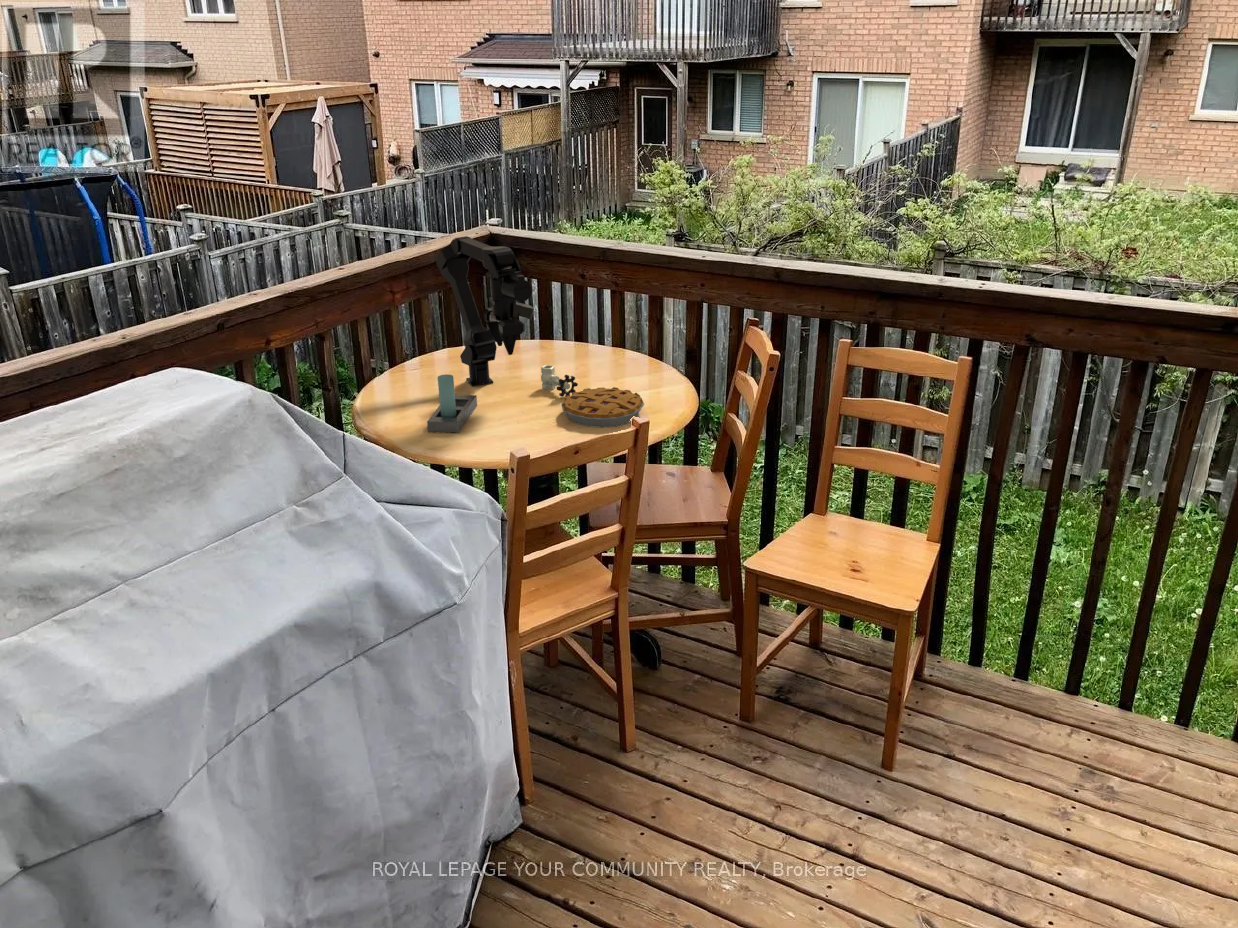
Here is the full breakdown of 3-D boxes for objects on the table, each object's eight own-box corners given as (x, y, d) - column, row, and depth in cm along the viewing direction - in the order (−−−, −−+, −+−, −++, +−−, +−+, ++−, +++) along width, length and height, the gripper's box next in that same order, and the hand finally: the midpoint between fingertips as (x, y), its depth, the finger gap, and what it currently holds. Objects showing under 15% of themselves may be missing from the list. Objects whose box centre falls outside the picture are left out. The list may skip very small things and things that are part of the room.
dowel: (438, 424, 261) (434, 377, 256) (451, 420, 263) (447, 373, 258) (447, 428, 258) (443, 380, 253) (460, 424, 261) (456, 377, 255)
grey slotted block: (448, 405, 274) (447, 394, 273) (477, 405, 273) (476, 395, 272) (428, 432, 256) (427, 421, 255) (458, 433, 255) (457, 422, 254)
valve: (535, 389, 285) (558, 400, 276) (534, 367, 283) (557, 378, 274) (554, 384, 289) (578, 395, 280) (553, 362, 286) (577, 373, 277)
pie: (656, 407, 271) (656, 389, 269) (623, 435, 253) (623, 416, 251) (584, 396, 279) (583, 379, 277) (547, 423, 261) (546, 405, 259)
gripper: (541, 299, 265) (544, 355, 271) (518, 284, 280) (521, 337, 287) (501, 304, 261) (505, 361, 267) (480, 288, 276) (484, 342, 283)
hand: (505, 350), depth 276 cm, fingers open, 9 cm apart
